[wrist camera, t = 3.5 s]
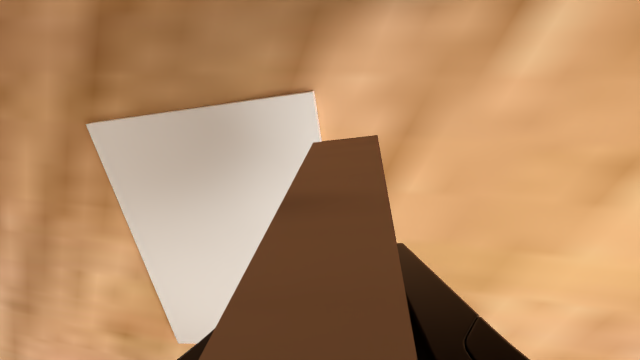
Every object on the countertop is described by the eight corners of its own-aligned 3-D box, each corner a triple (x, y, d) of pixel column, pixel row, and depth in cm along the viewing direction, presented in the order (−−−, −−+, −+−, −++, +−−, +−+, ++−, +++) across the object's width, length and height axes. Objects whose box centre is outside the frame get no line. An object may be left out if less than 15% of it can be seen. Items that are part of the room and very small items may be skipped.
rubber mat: (351, 335, 24) (350, 342, 23) (182, 337, 26) (178, 343, 25) (314, 90, 17) (312, 92, 17) (93, 122, 20) (85, 124, 19)
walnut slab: (390, 291, 12) (440, 706, 4) (337, 292, 12) (299, 680, 5) (377, 135, 10) (429, 430, 2) (313, 142, 10) (167, 418, 2)
